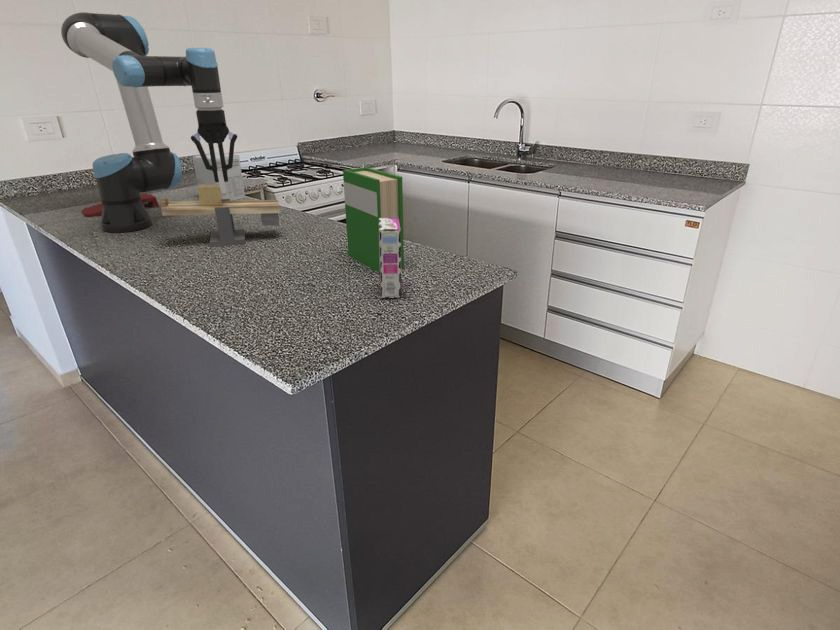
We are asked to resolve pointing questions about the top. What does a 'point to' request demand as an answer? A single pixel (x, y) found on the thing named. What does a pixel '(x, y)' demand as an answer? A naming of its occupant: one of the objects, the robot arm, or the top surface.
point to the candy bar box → (390, 257)
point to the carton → (97, 209)
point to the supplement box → (234, 174)
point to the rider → (209, 195)
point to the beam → (263, 207)
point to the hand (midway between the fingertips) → (223, 192)
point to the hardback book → (370, 211)
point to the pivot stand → (226, 229)
